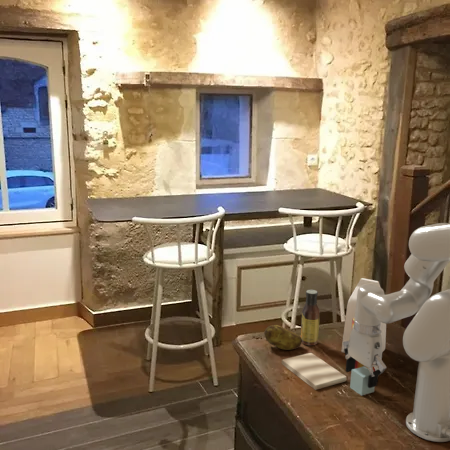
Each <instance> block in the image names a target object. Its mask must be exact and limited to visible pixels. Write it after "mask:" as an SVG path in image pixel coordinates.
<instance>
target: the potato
mask: <svg viewBox="0 0 450 450" xmlns="http://www.w3.org/2000/svg"><path fill="white" fill-rule="evenodd" d="M263 334H264V337H265V340H266V341H267V342H268V344H269V345H272V346H275V347H276V348H278V349H281V350H282V351H283V350H284V351H290V350H294V349H297V348H299V347H301V345H302V344H303V343H302V340H301V335H299V334H297V333H295V332H293V331H291V330H289V329H287V328H285V327H283V326H281V325H278V324H272V325H268V326H267V327H266V328H265V330H264V333H263Z"/></svg>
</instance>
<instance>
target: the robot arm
mask: <svg viewBox="0 0 450 450" xmlns="http://www.w3.org/2000/svg"><path fill="white" fill-rule="evenodd" d="M408 248H409V249H408V250H409V251H410V253H411V254H410V255H409V257H408V258H407V260H406V261H405V263H404V266H403V268H404V271H405V273H406V275H408V277H409V280H408V281H406V283H405V285H404V286H403V287H402V288H401V290H398V291H395V292H391V293H388V294H385V291H384V288H382V287H381V286H380V287H381V288H380V287H379V286H376V285H370V284H367V285H362V286H360V287H359V289H358V292H357V301H356V310H355V319H354V326H353V328H352V331H351V334H350V339H349V341H344V342H343V341H342V342H343V346H344V352H345V354H344V355H345V359H346V362H345V363H346V364H345V372H346V373H349V372H350V373H351V370H353V369H355V362H356V360H357V361H358V362H360V363H361V364H363V365H364V366H366V367H368V369H369V371H370V374H371V375H369V379H368V387H369V388H372V387H374V388H375V387H377V386H378V379H379V376H381V374H384V372H385V371H386V369H387V366H386V364H385V362H384V361H383V360H382V358H383V352H382V336H381V332H382V331H381V330H380V326H381V322H382V323H386V324H391V323H395V322H397V321H400V320H402V319H406V318H409V317H411V316H413V315H415V316H414V317H413V318H412V320H411V321H410V322H409V324H408V325H407V327H406V328H405V330H404V331H403V336H402V346H403V349H404V351H405V353H406V354H407V356H408V357H409V358H410V359H412V360H413V361H416V362H418V367H417V374H416V375H417V376H416V384H415V393H414V400H413V411H412V412H410V413H408V415H407V416H406V418H405V425H406V427H407V428H408V430H409V431H410V432H411V433H413V434H414V435H415V436H416V437H417V436H418V437H420V438H422V439H424V440H425V441H431V442H437V443H444V442H446V443H447V442H450V288H448V289H446V290H442V291H440V292H437V293H435V294H432V293H433V289H434V285H435V284H434V282H435V281H436V279H438V277H439V275H440V274H441V273H442V272H443V271H444V269H445V268H446V267H447V266H448V264H449V263H450V223H448V222H440V223H438V222H437V223H433V224H429V225H424V226H420V227H418V228H417V229H415V230H414V231H413V232H412V233H411V235H410V237H409V240H408ZM344 352H343V353H344ZM372 364H373V365H372ZM372 367H374V368H375V371H373V368H372Z"/></svg>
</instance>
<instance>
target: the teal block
mask: <svg viewBox="0 0 450 450" xmlns="http://www.w3.org/2000/svg"><path fill="white" fill-rule="evenodd" d="M369 375H371V374H370V371H369V369H368V368H366V367H364V366H363V367H360V368H356V369H353V370H351V371H350V384H349V385H350V386H349V388H350V389H351V390H352V391H354V392H356V393H357V394H358V395H360V396H366V395H368V394H371V393H374V392H375V387H372V388H369V387H368V379H369Z"/></svg>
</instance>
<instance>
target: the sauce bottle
mask: <svg viewBox="0 0 450 450" xmlns="http://www.w3.org/2000/svg"><path fill="white" fill-rule="evenodd" d="M305 295H306V296H305V297H306V299H305V303H304V306H303V308H302V310H301V322H300V323H301V325H300V327H301V329H300V337H301V340H302V343H301V344H303V345H305V346H310V347H313V346H316V345H317V344H318V340H319V331H320V330H319V329H320V308H319V305H318V304H317V303H318V302H317V301H318V291H317V290H315V289H307V290H306V292H305Z"/></svg>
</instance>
